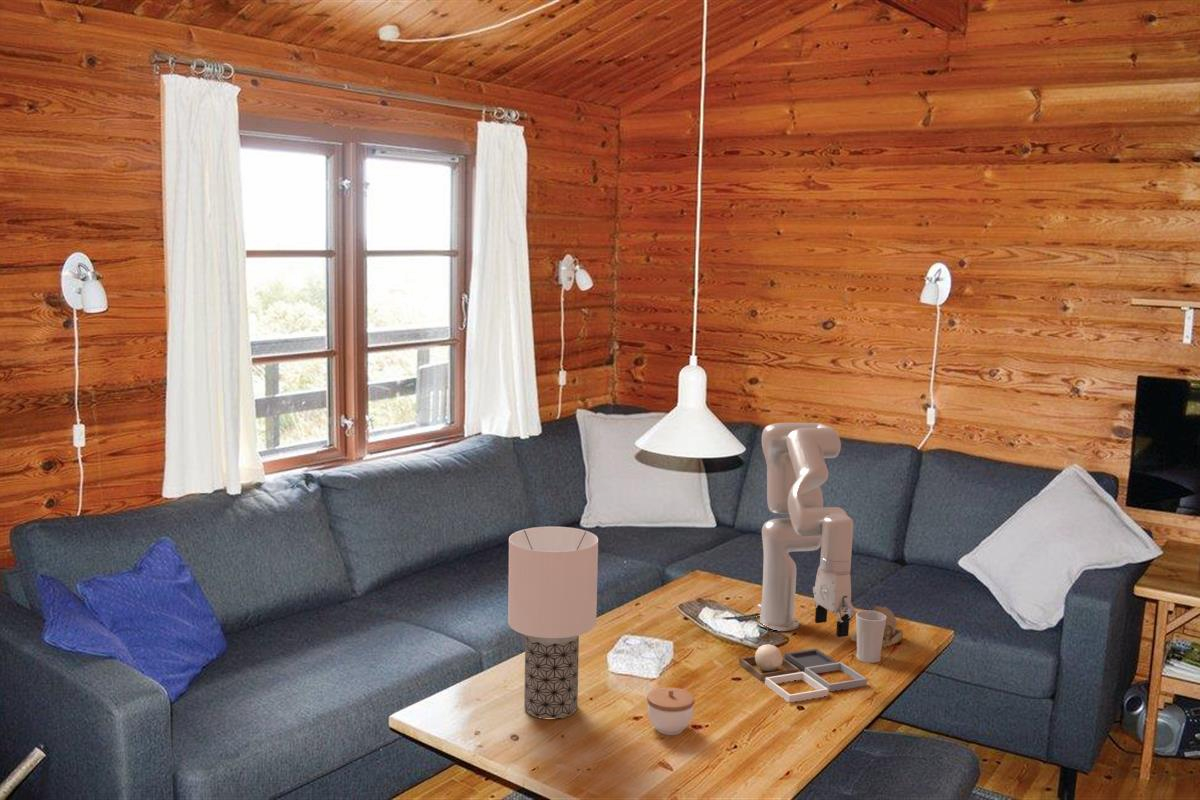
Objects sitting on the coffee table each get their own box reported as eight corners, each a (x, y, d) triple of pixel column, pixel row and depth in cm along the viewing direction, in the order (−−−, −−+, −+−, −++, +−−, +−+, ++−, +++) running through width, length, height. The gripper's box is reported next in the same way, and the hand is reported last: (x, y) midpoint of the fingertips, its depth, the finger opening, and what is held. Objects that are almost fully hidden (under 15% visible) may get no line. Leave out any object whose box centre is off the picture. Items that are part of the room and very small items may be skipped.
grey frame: (804, 674, 270) (804, 667, 269) (840, 668, 274) (840, 662, 274) (829, 691, 259) (829, 684, 259) (866, 685, 264) (866, 678, 263)
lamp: (554, 682, 261) (556, 521, 255) (612, 709, 247) (616, 540, 241) (489, 706, 247) (490, 537, 241) (547, 737, 233) (550, 557, 226)
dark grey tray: (784, 658, 279) (784, 653, 279) (815, 654, 283) (816, 648, 283) (805, 673, 270) (805, 667, 270) (837, 668, 274) (837, 662, 274)
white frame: (764, 684, 263) (765, 677, 263) (802, 678, 267) (802, 671, 267) (789, 702, 253) (789, 695, 252) (827, 696, 257) (828, 689, 257)
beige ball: (770, 678, 267) (771, 653, 266) (749, 668, 273) (750, 644, 272) (787, 671, 271) (789, 647, 270) (766, 662, 277) (768, 638, 276)
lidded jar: (679, 744, 231) (680, 704, 229) (637, 731, 236) (638, 692, 235) (701, 726, 240) (702, 687, 238) (660, 714, 245) (661, 676, 244)
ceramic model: (873, 651, 287) (875, 616, 285) (844, 637, 296) (846, 603, 295) (909, 642, 294) (911, 608, 292) (879, 629, 303) (882, 596, 302)
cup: (880, 653, 285) (883, 611, 283) (885, 664, 277) (888, 621, 275) (851, 651, 286) (853, 609, 284) (855, 663, 278) (858, 620, 276)
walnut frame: (739, 664, 275) (739, 658, 275) (775, 659, 279) (775, 652, 279) (761, 681, 265) (761, 674, 264) (798, 675, 269) (799, 668, 269)
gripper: (803, 555, 268) (800, 618, 270) (842, 576, 252) (837, 643, 254) (829, 552, 270) (825, 615, 273) (868, 573, 254) (863, 640, 257)
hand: (831, 629), depth 264 cm, fingers open, 9 cm apart
